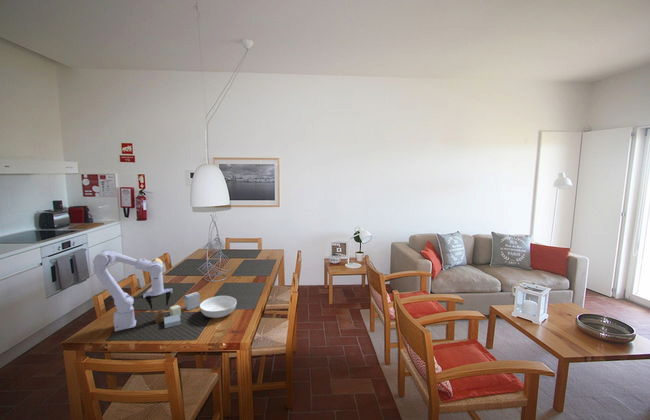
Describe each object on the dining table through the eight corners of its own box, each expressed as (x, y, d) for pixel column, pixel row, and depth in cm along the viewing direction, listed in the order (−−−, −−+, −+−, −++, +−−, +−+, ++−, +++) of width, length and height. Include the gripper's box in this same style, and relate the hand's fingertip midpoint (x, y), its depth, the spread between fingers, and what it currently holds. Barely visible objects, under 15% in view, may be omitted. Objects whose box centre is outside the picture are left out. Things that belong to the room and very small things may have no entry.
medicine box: (197, 304, 191) (196, 291, 190) (200, 306, 188) (199, 293, 187) (184, 308, 185) (184, 295, 184) (188, 310, 182) (187, 297, 181)
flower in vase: (154, 298, 198) (151, 262, 195) (141, 296, 202) (138, 261, 198) (170, 291, 210) (167, 257, 207) (157, 289, 214) (155, 255, 210)
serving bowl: (221, 325, 166) (221, 313, 165) (192, 318, 173) (191, 307, 172) (244, 308, 185) (243, 298, 184) (216, 303, 192) (216, 293, 191)
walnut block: (155, 323, 168) (155, 314, 167) (155, 319, 171) (155, 310, 171) (164, 321, 170) (164, 312, 169) (164, 318, 174) (164, 309, 173)
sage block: (173, 318, 173) (172, 309, 172) (170, 316, 176) (169, 307, 175) (181, 315, 176) (180, 306, 176) (177, 313, 179) (177, 304, 178)
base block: (164, 329, 163) (164, 323, 162) (164, 322, 169) (164, 317, 169) (181, 325, 166) (180, 320, 166) (180, 318, 173) (179, 314, 173)
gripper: (142, 289, 160) (144, 312, 162) (172, 283, 167) (173, 306, 169) (142, 284, 166) (144, 307, 168) (171, 279, 173) (173, 301, 175)
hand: (159, 306), depth 169 cm, fingers open, 7 cm apart
